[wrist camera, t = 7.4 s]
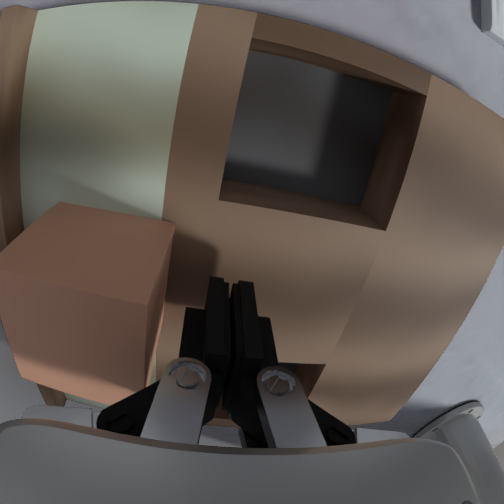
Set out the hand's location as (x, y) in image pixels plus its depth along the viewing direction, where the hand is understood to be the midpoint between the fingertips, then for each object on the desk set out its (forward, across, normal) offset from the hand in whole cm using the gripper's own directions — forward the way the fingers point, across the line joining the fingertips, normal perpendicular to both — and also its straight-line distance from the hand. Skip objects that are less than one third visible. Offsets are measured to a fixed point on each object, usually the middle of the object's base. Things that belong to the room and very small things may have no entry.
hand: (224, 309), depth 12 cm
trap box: (+5, -3, 0) cm, 6 cm away
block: (+1, +5, 0) cm, 5 cm away
